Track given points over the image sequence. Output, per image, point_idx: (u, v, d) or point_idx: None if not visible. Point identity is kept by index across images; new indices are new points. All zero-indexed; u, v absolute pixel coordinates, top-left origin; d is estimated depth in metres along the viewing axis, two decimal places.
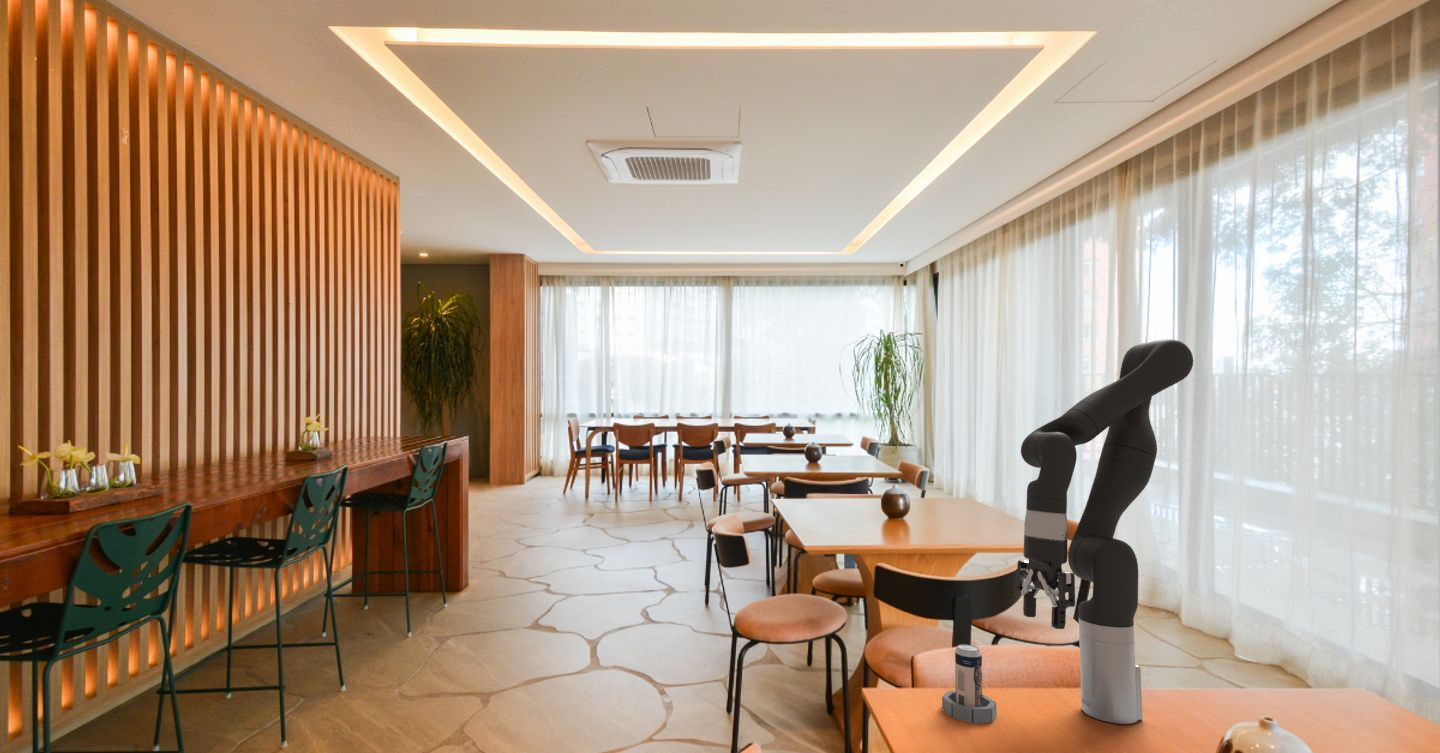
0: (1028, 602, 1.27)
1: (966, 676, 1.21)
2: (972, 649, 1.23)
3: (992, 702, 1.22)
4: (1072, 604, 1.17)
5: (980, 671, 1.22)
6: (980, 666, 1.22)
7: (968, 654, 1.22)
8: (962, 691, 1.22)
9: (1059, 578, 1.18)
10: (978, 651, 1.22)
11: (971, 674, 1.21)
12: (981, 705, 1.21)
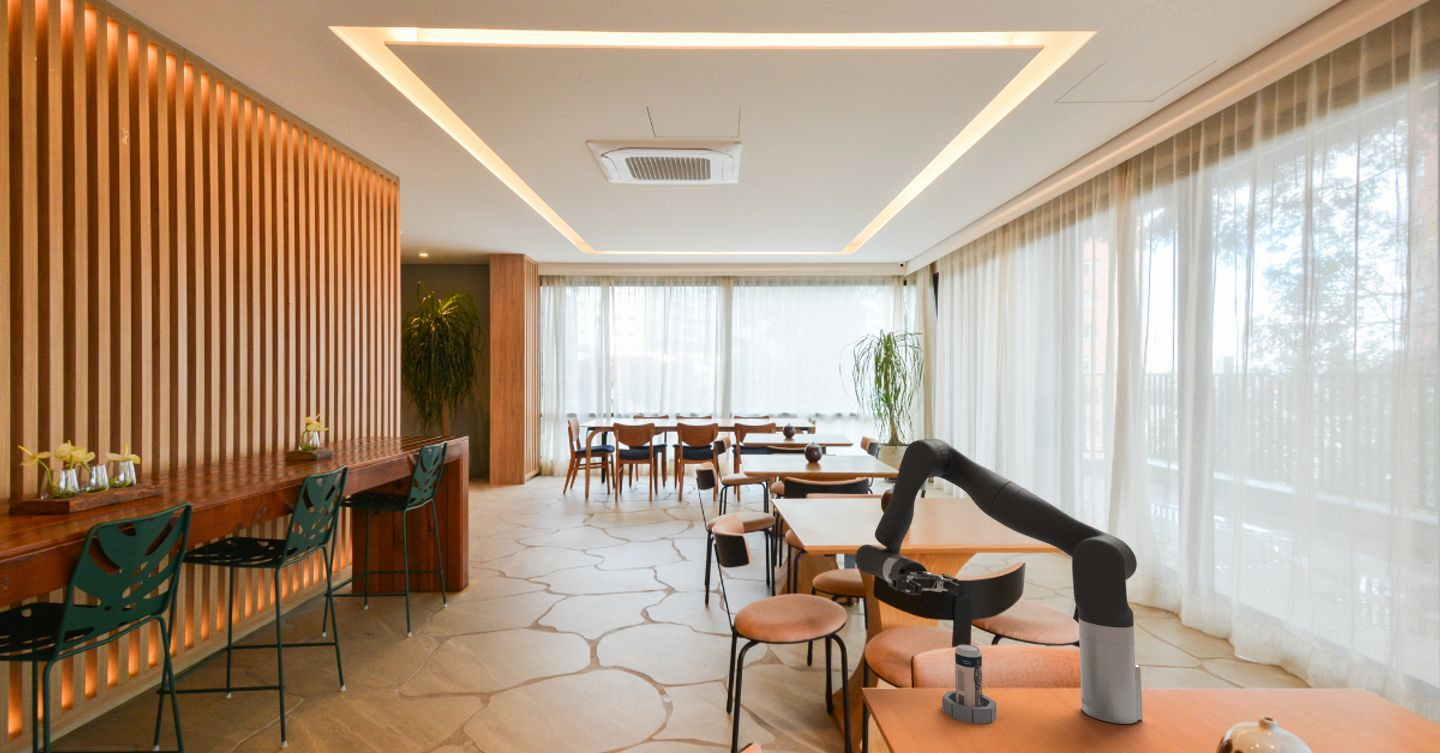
0: (949, 589, 1.39)
1: (966, 676, 1.21)
2: (972, 649, 1.23)
3: (992, 702, 1.22)
4: (897, 581, 1.39)
5: (980, 671, 1.22)
6: (980, 666, 1.22)
7: (968, 654, 1.22)
8: (962, 691, 1.22)
9: None
10: (978, 651, 1.22)
11: (971, 673, 1.21)
12: (981, 705, 1.21)
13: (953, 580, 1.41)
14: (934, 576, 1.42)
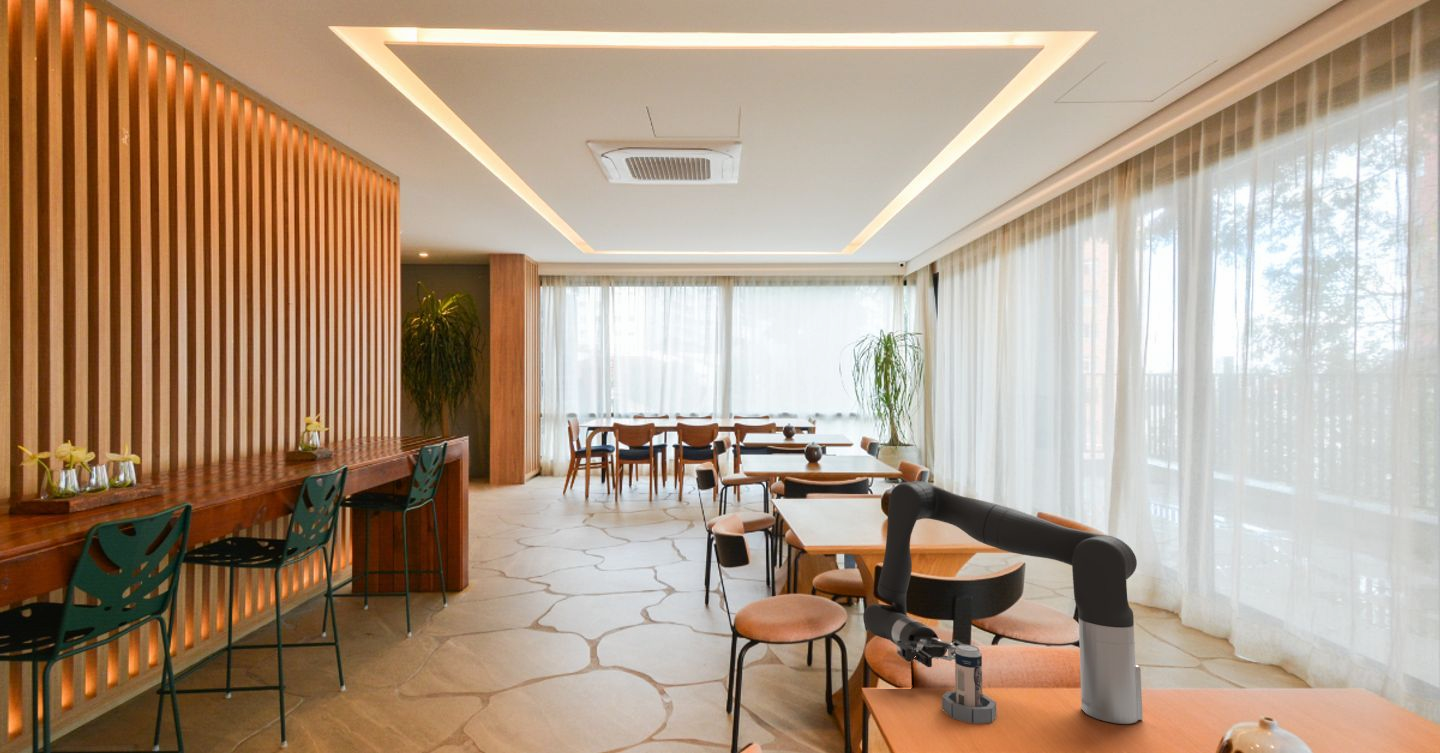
0: None
1: (966, 676, 1.21)
2: (972, 649, 1.23)
3: (992, 702, 1.22)
4: (906, 651, 1.34)
5: (980, 671, 1.22)
6: (980, 666, 1.22)
7: (968, 654, 1.22)
8: (962, 691, 1.22)
9: None
10: (978, 651, 1.22)
11: (971, 673, 1.21)
12: (981, 705, 1.21)
13: None
14: (945, 644, 1.37)
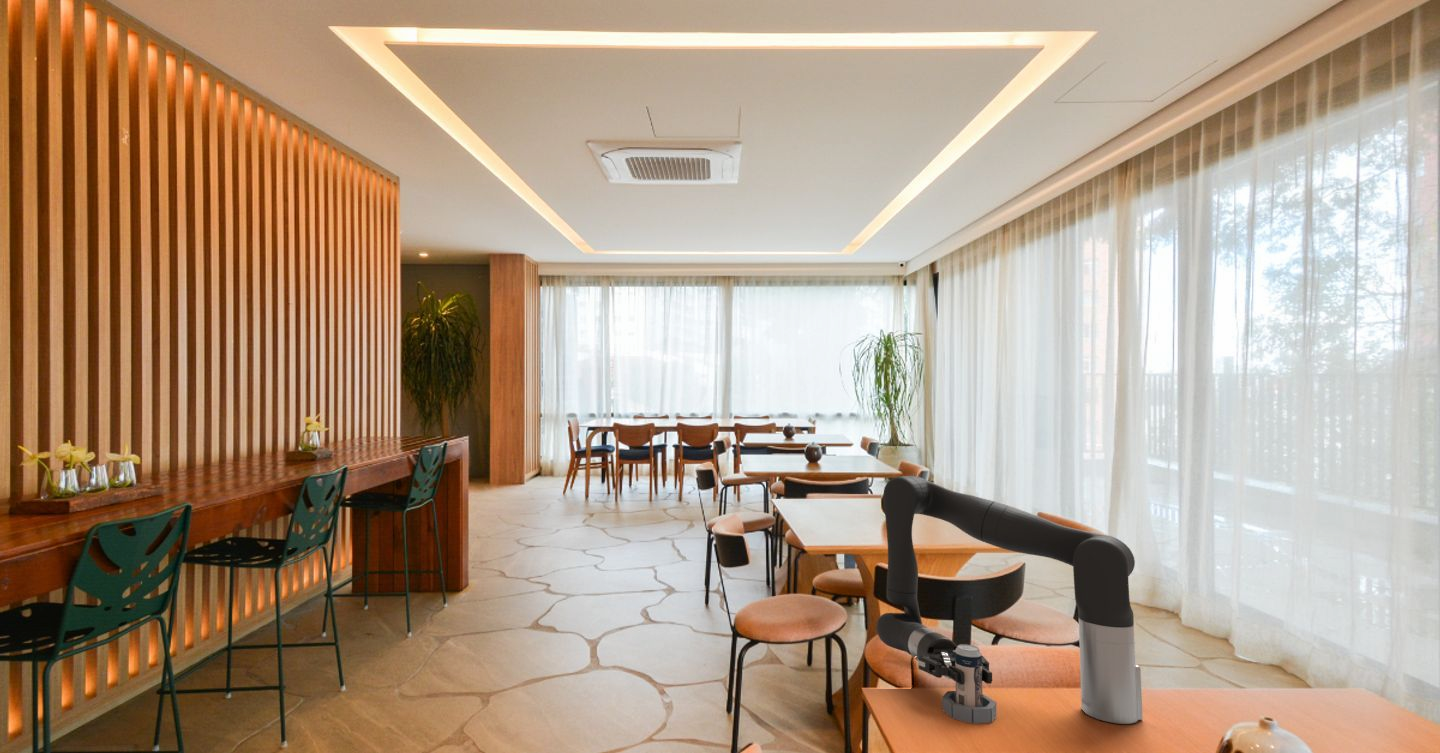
0: None
1: (966, 676, 1.21)
2: (972, 649, 1.23)
3: (992, 702, 1.22)
4: (937, 666, 1.25)
5: (980, 671, 1.22)
6: (980, 666, 1.22)
7: (968, 654, 1.22)
8: (962, 691, 1.22)
9: None
10: (978, 651, 1.22)
11: (972, 673, 1.21)
12: (981, 705, 1.21)
13: (983, 663, 1.26)
14: None
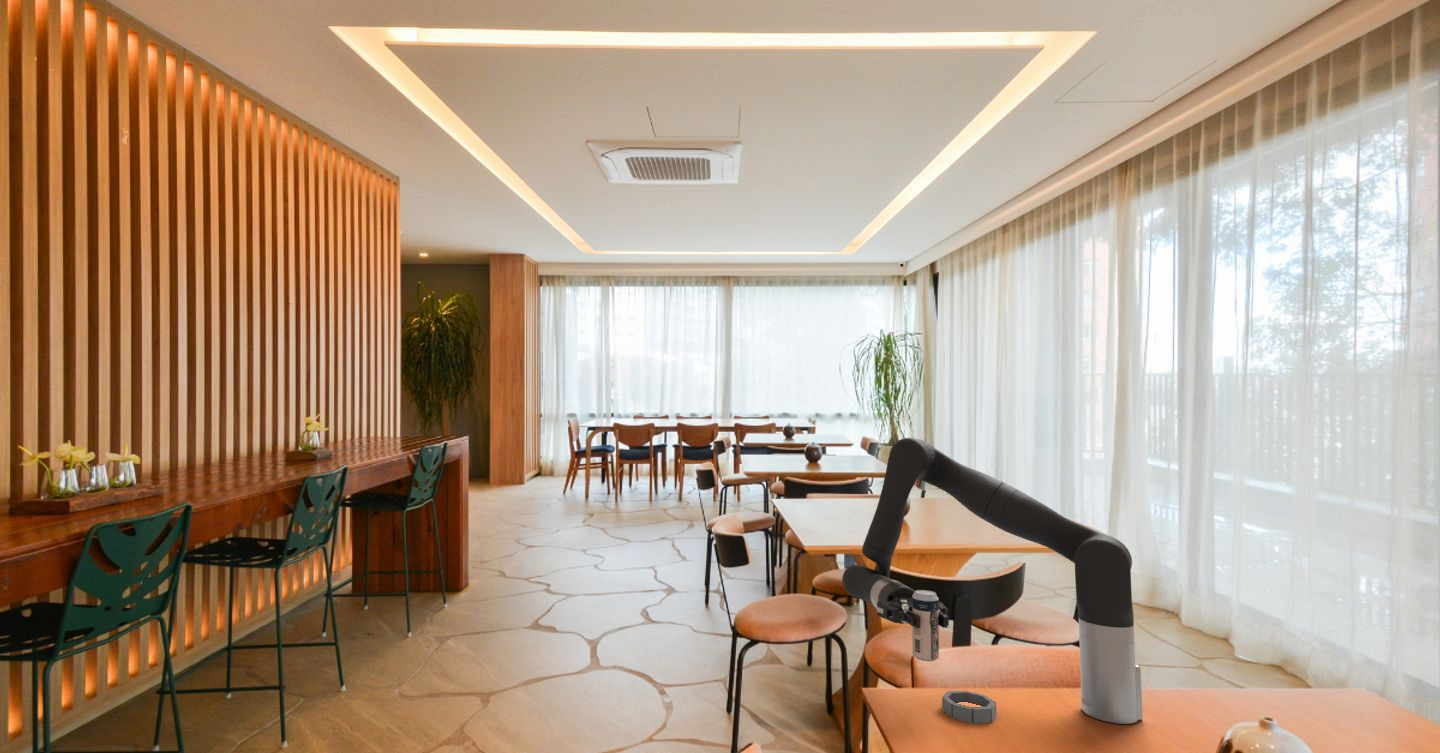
0: None
1: (922, 620, 1.20)
2: (929, 594, 1.22)
3: (992, 702, 1.22)
4: (894, 611, 1.24)
5: (936, 615, 1.21)
6: (937, 610, 1.21)
7: (924, 598, 1.21)
8: (918, 635, 1.21)
9: None
10: (935, 595, 1.21)
11: (927, 617, 1.20)
12: (937, 649, 1.20)
13: (941, 609, 1.25)
14: None
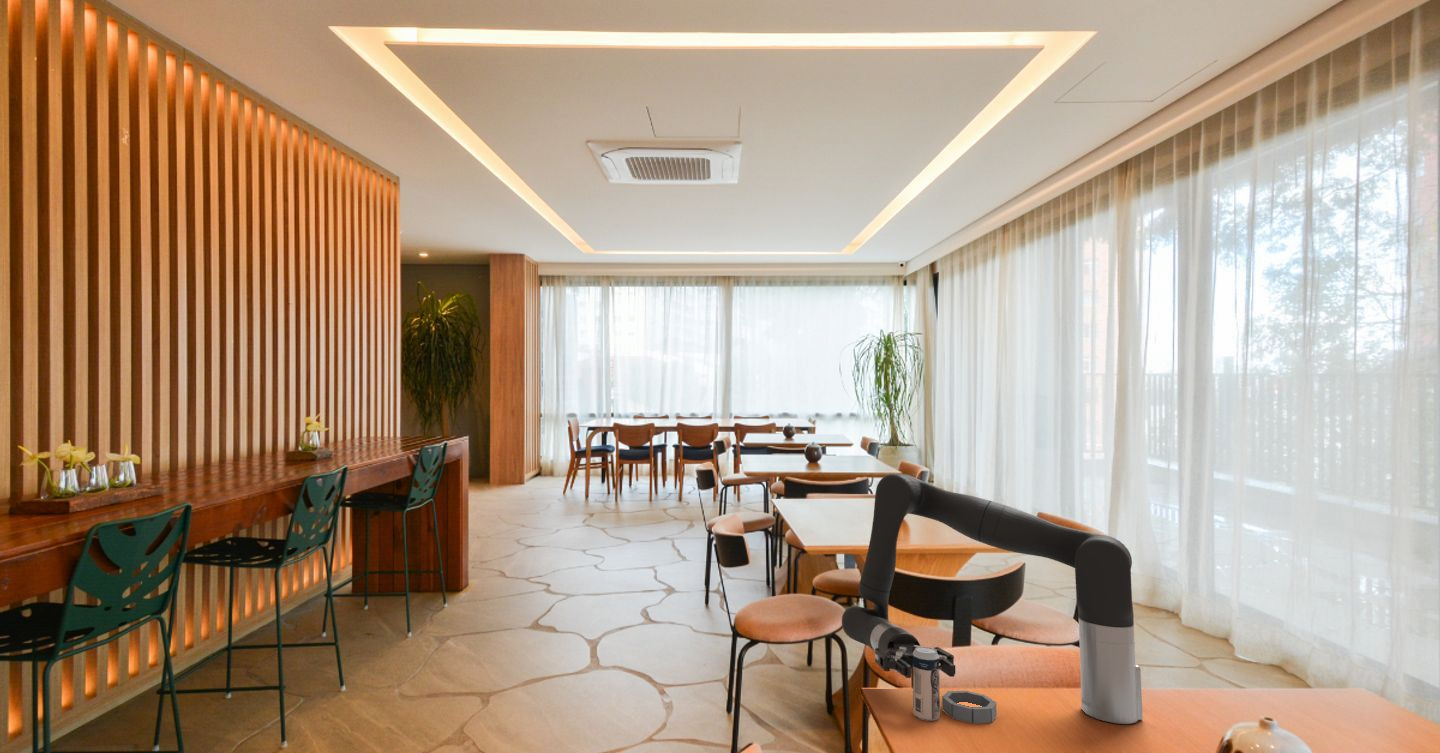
0: (943, 669, 1.23)
1: (923, 679, 1.19)
2: (930, 652, 1.21)
3: (992, 702, 1.22)
4: (884, 659, 1.23)
5: (937, 674, 1.20)
6: (937, 669, 1.20)
7: (925, 656, 1.20)
8: (919, 694, 1.19)
9: None
10: (935, 654, 1.20)
11: (928, 677, 1.19)
12: (938, 709, 1.19)
13: (948, 657, 1.25)
14: None
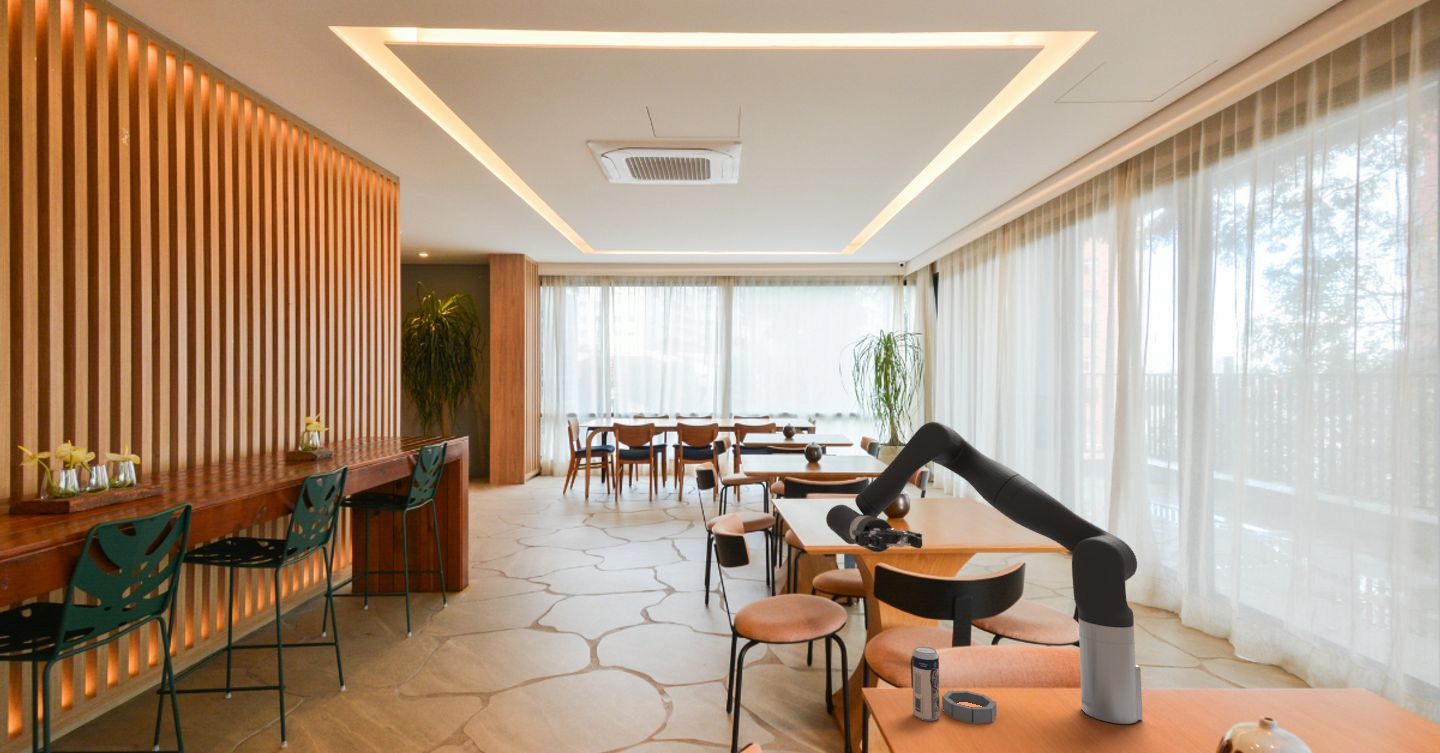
0: (912, 543, 1.38)
1: (923, 678, 1.19)
2: (929, 651, 1.21)
3: (992, 702, 1.22)
4: (859, 536, 1.38)
5: (937, 674, 1.20)
6: (937, 669, 1.20)
7: (924, 656, 1.20)
8: (918, 694, 1.19)
9: None
10: (935, 653, 1.20)
11: (928, 676, 1.19)
12: (938, 708, 1.19)
13: (917, 535, 1.40)
14: (898, 532, 1.41)
